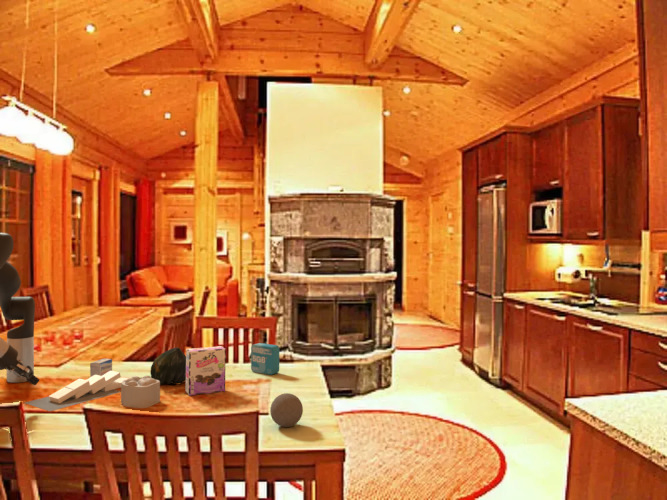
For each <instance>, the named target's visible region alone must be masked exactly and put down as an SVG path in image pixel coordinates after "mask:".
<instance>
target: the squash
mask: <svg viewBox="0 0 667 500" xmlns="http://www.w3.org/2000/svg"><path fill="white" fill-rule="evenodd" d="M149 372H150V377H151V378H153V379H155V380H159V381H160V386H163V385H166V384H167V385H171V384H175V385H176V384H177V385H180V384H181V385H182V384H183V383H184V382H186V353H184V352H183V350H182V349H181V348H179V347H173V348H170V349H168V350H166V351H164V352H162V353H161V354H159V355H158V356H157V357H156V358H155V359H154V360H153V362H152V364H151V365H150V371H149Z"/></svg>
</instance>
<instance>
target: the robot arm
mask: <svg viewBox="0 0 667 500" xmlns="http://www.w3.org/2000/svg"><path fill="white" fill-rule="evenodd" d="M14 242H15V241H14V239H13V237H12V235H11V234H10V233H7V232H0V309H1V310H0V311H1V313H2V316H3V317H4V318H5V320H8V321H23V323H22V324H21V325H19V326H17V327H13V328H11V329H9V330H7V332H6V340H5V339H3V338H2V337H0V371H1V370H6V382H8V383H12V384H13V383H17V384H18V383H26V382H28V383H30V384H31V385H33V386H36V385H37V384H38V383H39V382H40V379H39V378H38V377H37V376H35V375H34V374H35V371H34V370H35V363H34V361H35V357H34V356H35V355H34V354H35V343H34V342H35V337H34V336H35V315H36V314H35V313H36V312H35V311H36V302H35V299H34V297H32V296H14V295H16V294H17V292H18V291H19V290H20V288H21V285H22V280H21V276H20V274H19V272H18V270H17V269H16V267H14V265H12V264H11V263H10V262H8V260H9V259H10V257H11V256H12V253H13V250H14V246H15V245H14Z"/></svg>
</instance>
